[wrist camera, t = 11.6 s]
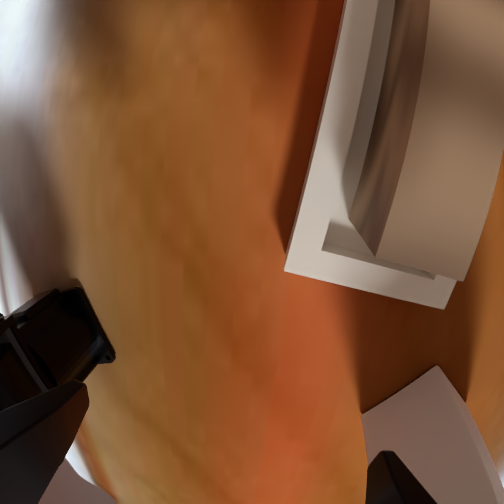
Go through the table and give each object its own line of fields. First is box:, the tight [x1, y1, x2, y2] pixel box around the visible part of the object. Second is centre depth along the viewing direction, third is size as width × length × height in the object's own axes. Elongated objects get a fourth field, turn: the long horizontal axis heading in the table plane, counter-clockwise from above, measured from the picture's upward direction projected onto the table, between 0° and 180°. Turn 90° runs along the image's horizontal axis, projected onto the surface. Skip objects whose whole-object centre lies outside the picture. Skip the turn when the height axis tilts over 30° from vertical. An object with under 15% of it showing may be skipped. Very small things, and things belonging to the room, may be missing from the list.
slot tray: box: [284, 0, 457, 310], centre depth 13 cm, size 20×10×2 cm, turn 167°
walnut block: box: [349, 0, 504, 282], centre depth 11 cm, size 14×4×6 cm, turn 167°
